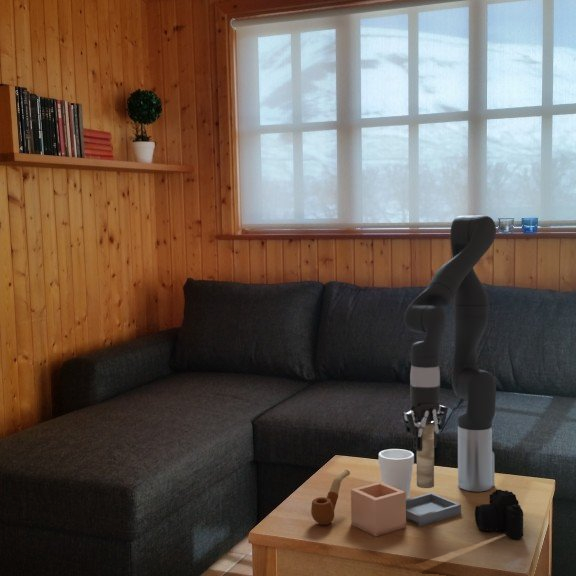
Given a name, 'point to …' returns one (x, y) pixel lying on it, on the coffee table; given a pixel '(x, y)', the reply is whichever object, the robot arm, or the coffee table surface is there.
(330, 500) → the smoking pipe
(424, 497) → the tray
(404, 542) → the coffee table surface
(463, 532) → the coffee table surface
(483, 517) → the film camera
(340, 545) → the coffee table surface
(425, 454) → the maple dowel
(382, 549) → the coffee table surface
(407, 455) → the foam cup
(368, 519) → the deep box
